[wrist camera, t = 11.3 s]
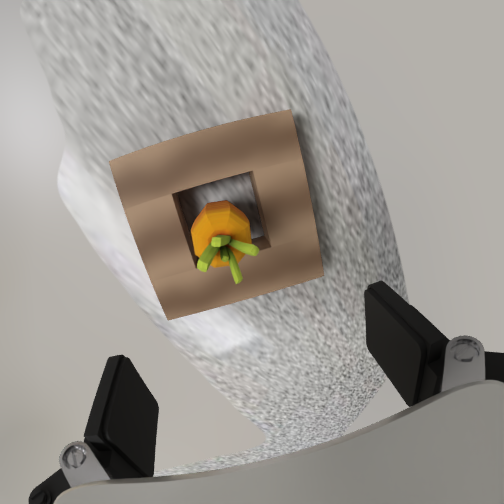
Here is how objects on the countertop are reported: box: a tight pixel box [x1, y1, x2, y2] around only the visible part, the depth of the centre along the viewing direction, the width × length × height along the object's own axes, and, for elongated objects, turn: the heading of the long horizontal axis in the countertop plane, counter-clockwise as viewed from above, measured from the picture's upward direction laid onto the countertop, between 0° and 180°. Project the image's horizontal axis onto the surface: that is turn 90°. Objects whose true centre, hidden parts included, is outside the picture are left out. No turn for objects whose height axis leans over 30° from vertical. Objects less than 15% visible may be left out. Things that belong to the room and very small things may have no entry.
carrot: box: [191, 200, 259, 284], centre depth 26 cm, size 5×5×15 cm
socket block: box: [109, 109, 324, 320], centre depth 31 cm, size 18×18×4 cm
